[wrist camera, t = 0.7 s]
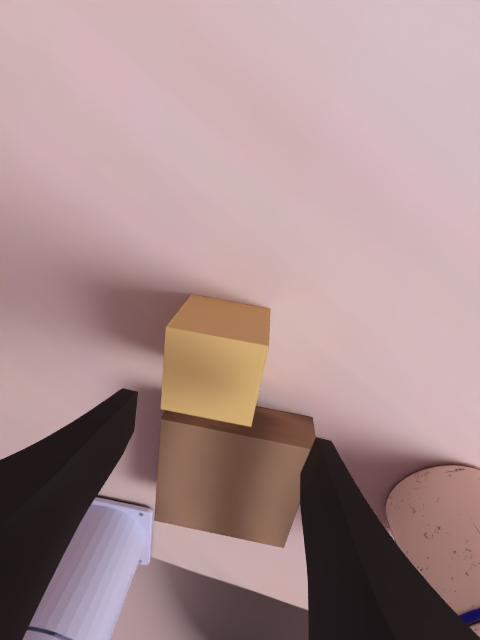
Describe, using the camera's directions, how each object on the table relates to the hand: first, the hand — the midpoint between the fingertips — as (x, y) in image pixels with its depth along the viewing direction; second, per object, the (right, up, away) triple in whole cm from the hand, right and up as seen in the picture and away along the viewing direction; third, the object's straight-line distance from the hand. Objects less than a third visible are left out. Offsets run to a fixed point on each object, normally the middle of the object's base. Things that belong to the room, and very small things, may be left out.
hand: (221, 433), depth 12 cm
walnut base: (0, -6, +12) cm, 13 cm away
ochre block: (0, +3, +8) cm, 9 cm away
